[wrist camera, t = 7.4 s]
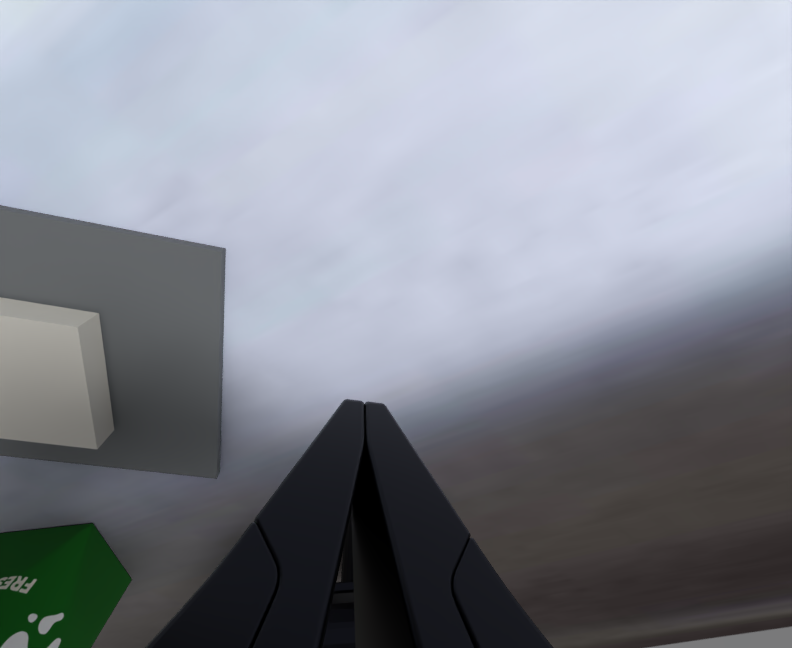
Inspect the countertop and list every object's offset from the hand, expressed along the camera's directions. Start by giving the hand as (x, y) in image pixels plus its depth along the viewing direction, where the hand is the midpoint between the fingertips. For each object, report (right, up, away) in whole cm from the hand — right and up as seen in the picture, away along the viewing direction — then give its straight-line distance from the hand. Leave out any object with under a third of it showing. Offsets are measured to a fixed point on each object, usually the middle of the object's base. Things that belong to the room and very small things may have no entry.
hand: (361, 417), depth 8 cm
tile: (-15, -1, +13) cm, 20 cm away
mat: (-19, 0, +13) cm, 24 cm away
